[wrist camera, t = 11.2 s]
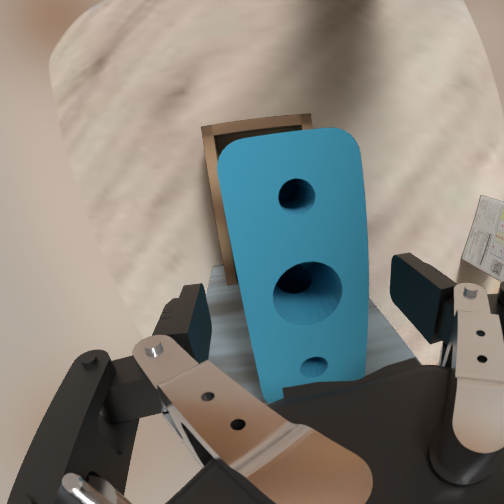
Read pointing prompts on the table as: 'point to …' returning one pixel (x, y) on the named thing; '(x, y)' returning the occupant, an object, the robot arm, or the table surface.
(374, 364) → the wooden stand
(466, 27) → the table surface
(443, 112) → the table surface
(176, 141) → the table surface
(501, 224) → the light bulb box
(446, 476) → the robot arm
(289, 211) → the block
